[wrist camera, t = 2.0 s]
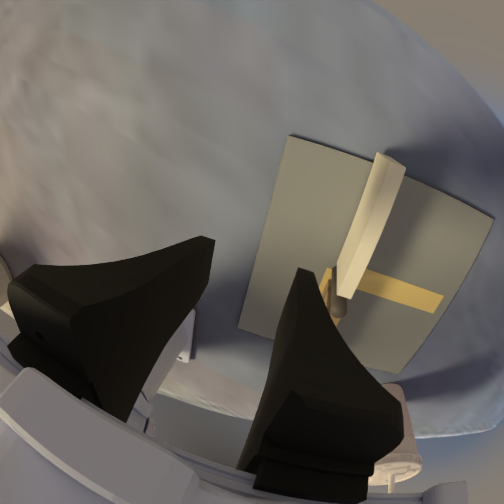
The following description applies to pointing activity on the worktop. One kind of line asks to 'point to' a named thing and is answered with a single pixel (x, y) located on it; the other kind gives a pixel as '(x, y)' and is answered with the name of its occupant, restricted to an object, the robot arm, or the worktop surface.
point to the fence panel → (368, 222)
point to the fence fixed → (334, 299)
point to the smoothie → (398, 451)
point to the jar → (4, 281)
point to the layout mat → (380, 264)
